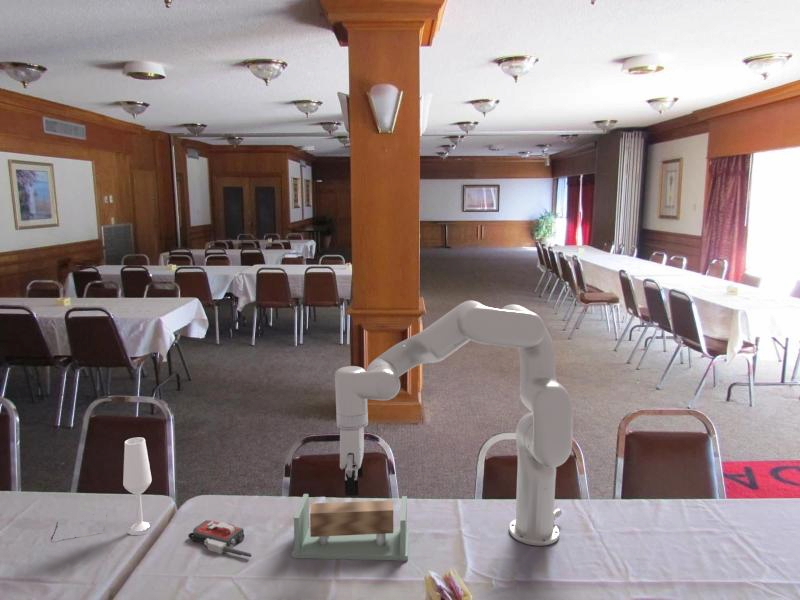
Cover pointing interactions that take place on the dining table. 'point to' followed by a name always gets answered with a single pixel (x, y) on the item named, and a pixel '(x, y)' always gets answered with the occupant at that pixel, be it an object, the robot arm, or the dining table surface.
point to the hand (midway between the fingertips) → (354, 485)
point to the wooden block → (351, 518)
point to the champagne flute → (137, 475)
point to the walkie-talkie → (219, 537)
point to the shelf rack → (349, 540)
